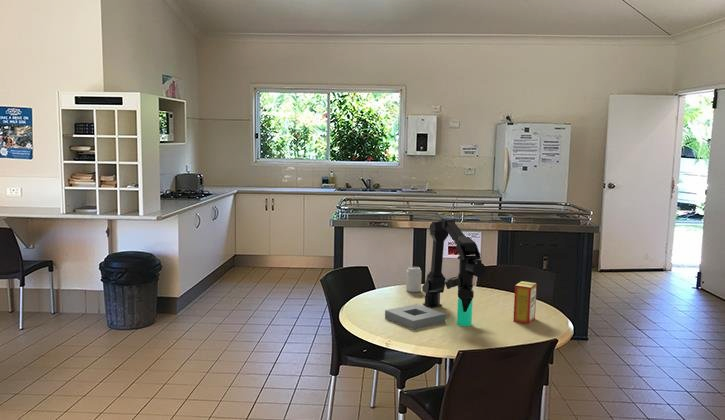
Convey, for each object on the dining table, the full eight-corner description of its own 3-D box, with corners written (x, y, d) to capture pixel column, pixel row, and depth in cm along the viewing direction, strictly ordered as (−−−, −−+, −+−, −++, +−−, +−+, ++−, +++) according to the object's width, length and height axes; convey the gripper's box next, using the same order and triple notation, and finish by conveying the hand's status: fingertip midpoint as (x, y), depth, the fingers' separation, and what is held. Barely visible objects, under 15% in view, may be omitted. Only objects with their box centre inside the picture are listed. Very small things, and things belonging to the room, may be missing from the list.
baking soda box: (528, 324, 245) (530, 286, 243) (513, 321, 248) (515, 284, 246) (534, 318, 253) (536, 282, 251) (519, 316, 256) (521, 280, 254)
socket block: (416, 311, 260) (417, 304, 259) (445, 322, 245) (445, 314, 245) (384, 318, 249) (385, 310, 249) (412, 329, 235) (412, 320, 234)
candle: (472, 322, 245) (473, 294, 244) (470, 326, 240) (471, 298, 238) (458, 321, 247) (459, 293, 246) (455, 325, 241) (456, 296, 240)
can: (420, 293, 292) (420, 269, 291) (405, 292, 294) (405, 268, 292) (421, 289, 299) (422, 266, 298) (407, 288, 301) (407, 265, 300)
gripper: (446, 266, 251) (445, 301, 253) (445, 275, 233) (444, 313, 235) (473, 267, 250) (471, 303, 251) (474, 277, 231) (472, 315, 233)
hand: (464, 308), depth 243 cm, fingers open, 9 cm apart
